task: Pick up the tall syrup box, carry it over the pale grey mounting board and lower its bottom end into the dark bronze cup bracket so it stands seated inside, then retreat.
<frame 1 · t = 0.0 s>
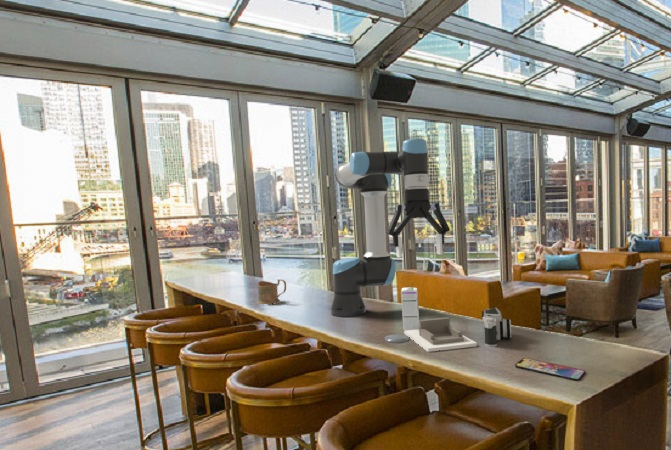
hand: (419, 255, 128), 28 cm above the table, fingers open, 13 cm apart
smartphone: (549, 372, 103), on the table
camera: (496, 340, 130), on the table
syrup box: (411, 329, 146), on the table
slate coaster: (396, 340, 135), on the table
mug: (273, 303, 203), on the table
bracket board: (438, 339, 132), on the table
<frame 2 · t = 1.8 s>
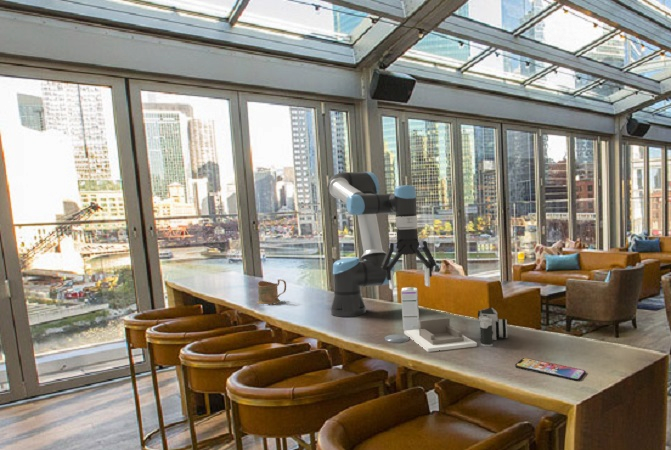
hand: (409, 287, 146), 15 cm above the table, fingers open, 13 cm apart
camera: (493, 340, 130), on the table
everything else where it was.
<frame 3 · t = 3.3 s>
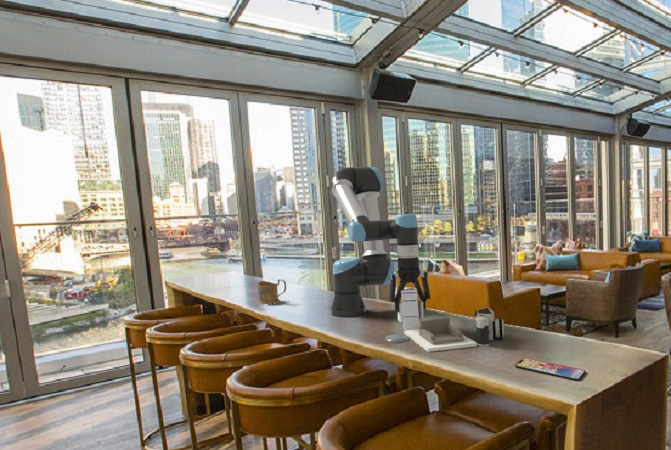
hand: (410, 319, 146), 3 cm above the table, fingers closed on syrup box, 7 cm apart
syrup box: (411, 329, 146), on the table, touching gripper
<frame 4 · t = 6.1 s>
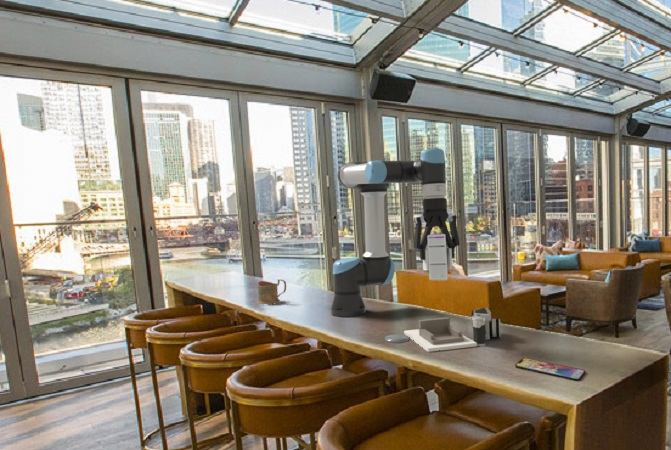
hand: (437, 269, 130), 23 cm above the table, fingers closed on syrup box, 7 cm apart
syrup box: (438, 279, 130), point 20 cm above the table, touching gripper
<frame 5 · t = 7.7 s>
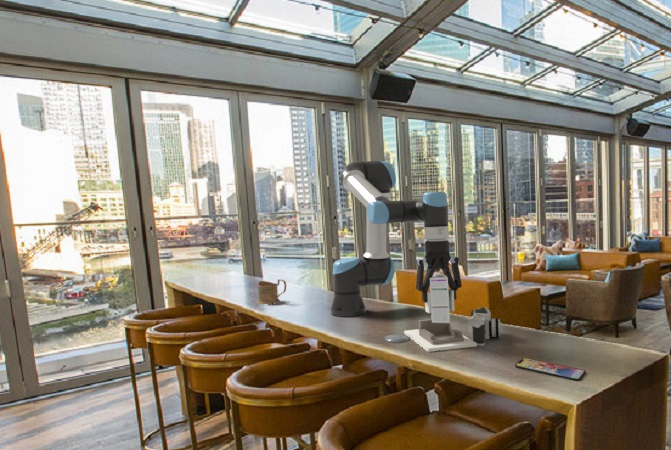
hand: (439, 311, 130), 10 cm above the table, fingers closed on syrup box, 7 cm apart
syrup box: (440, 321, 130), point 6 cm above the table, touching gripper
when the fingers open (6 cm above the table, at t = 8.8 s): syrup box drops 1 cm, resting on bracket board.
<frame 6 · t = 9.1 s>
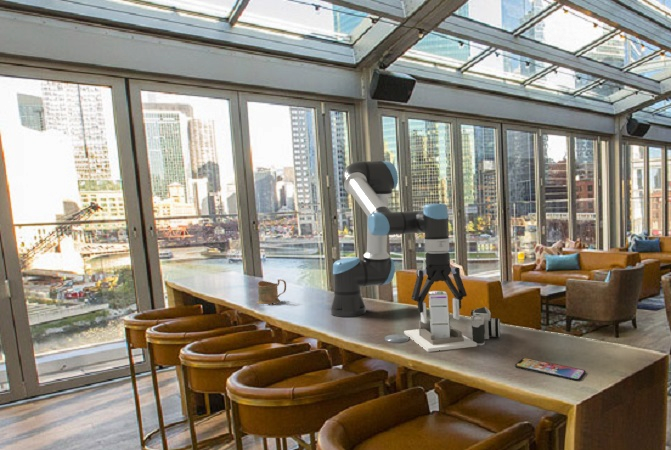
hand: (440, 320, 130), 7 cm above the table, fingers open, 10 cm apart
syrup box: (440, 337, 130), point 1 cm above the table, touching bracket board
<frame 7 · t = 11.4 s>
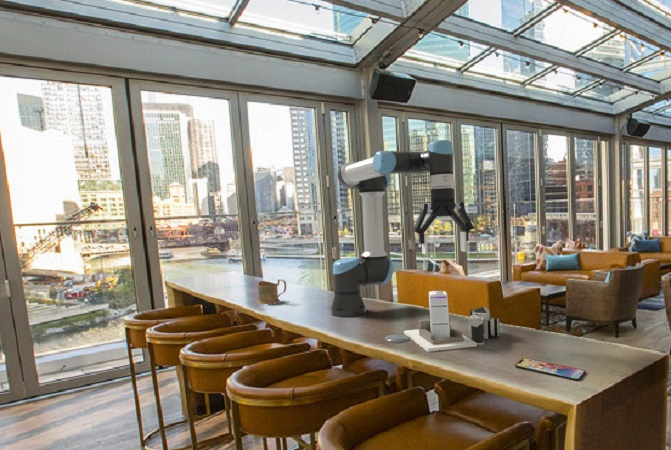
hand: (444, 252, 134), 28 cm above the table, fingers open, 13 cm apart
camera: (485, 338, 132), on the table, touching bracket board
everything else where it was.
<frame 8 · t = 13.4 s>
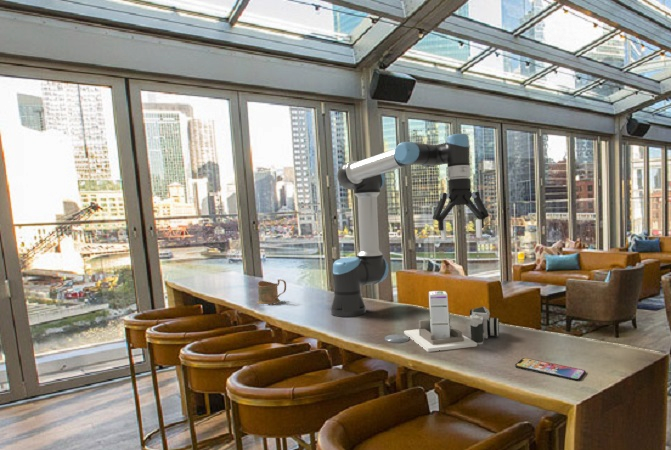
hand: (461, 238, 143), 32 cm above the table, fingers open, 13 cm apart
camera: (484, 338, 132), on the table
everything else where it was.
at the end: syrup box 0.3 cm from the target spot on the bracket board, point 1.1 cm above the bracket board's base; syrup box tilted 0°; the gripper is holding nothing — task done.
